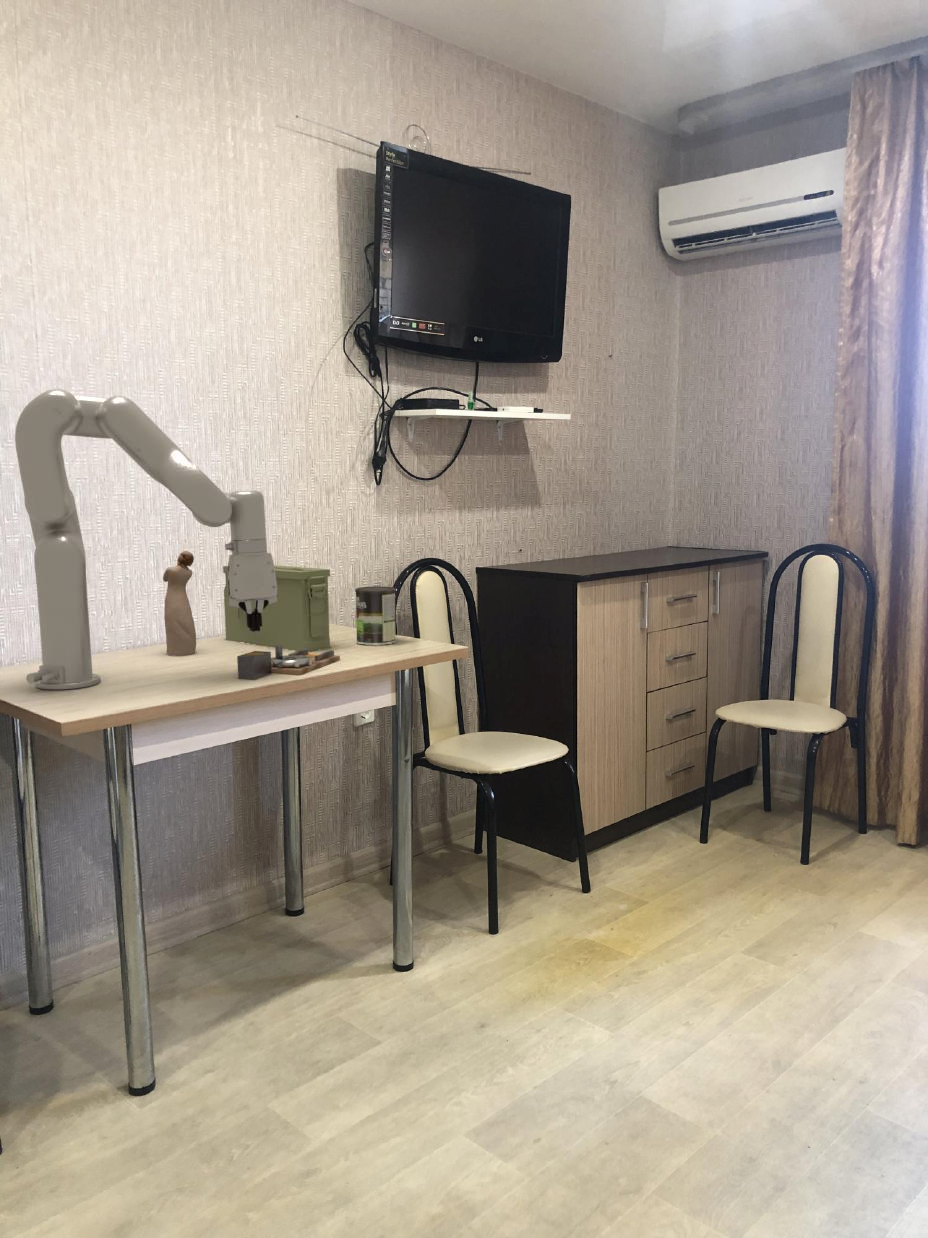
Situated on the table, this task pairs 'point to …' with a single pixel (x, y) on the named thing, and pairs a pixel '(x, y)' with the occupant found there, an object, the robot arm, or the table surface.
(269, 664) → the charcoal rectangular block
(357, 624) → the coffee can
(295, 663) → the sprocket
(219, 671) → the table surface
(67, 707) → the table surface
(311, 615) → the ammunition box
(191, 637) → the figurine
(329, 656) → the board
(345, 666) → the table surface
